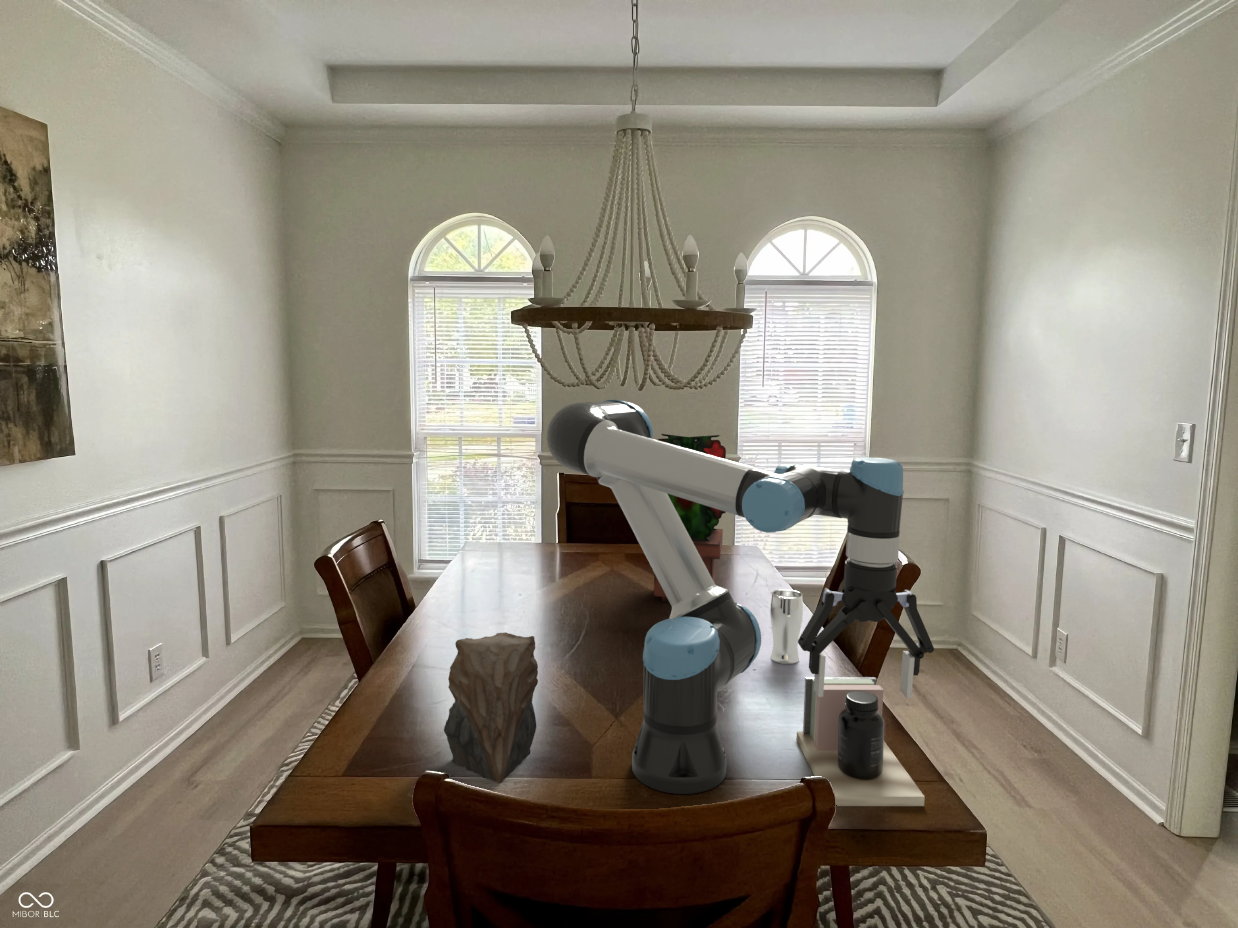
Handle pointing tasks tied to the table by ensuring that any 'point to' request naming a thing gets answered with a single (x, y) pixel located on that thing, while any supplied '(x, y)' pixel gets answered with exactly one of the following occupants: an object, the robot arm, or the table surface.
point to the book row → (835, 708)
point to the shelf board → (849, 791)
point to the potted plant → (698, 510)
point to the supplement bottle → (861, 736)
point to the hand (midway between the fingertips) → (862, 693)
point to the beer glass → (786, 625)
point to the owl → (492, 704)
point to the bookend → (809, 694)
